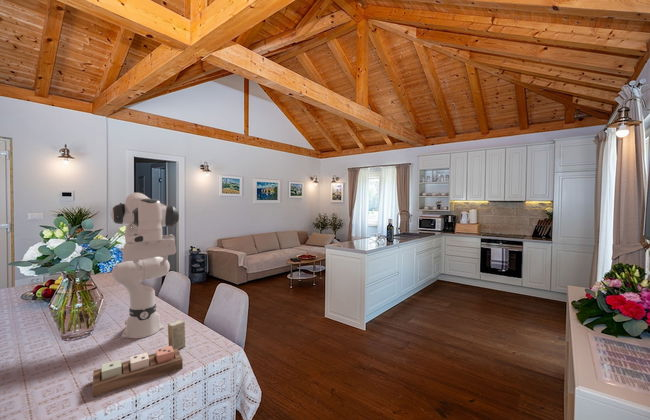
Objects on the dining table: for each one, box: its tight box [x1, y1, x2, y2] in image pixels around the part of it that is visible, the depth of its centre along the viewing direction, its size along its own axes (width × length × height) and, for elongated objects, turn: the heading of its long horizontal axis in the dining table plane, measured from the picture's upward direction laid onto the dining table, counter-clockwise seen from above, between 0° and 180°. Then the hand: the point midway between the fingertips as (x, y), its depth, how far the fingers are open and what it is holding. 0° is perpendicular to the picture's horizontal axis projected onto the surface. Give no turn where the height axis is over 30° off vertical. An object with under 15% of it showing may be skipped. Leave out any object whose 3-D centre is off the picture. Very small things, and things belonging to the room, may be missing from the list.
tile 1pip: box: [101, 359, 122, 380], centre depth 110 cm, size 6×6×5 cm
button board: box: [92, 347, 184, 398], centre depth 116 cm, size 12×29×4 cm, turn 127°
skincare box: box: [167, 319, 186, 350], centre depth 136 cm, size 6×4×12 cm
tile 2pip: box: [129, 351, 149, 371], centre depth 116 cm, size 6×6×5 cm
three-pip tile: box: [155, 345, 174, 364], centre depth 121 cm, size 6×6×5 cm
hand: (151, 267), depth 125 cm, fingers open, 8 cm apart
